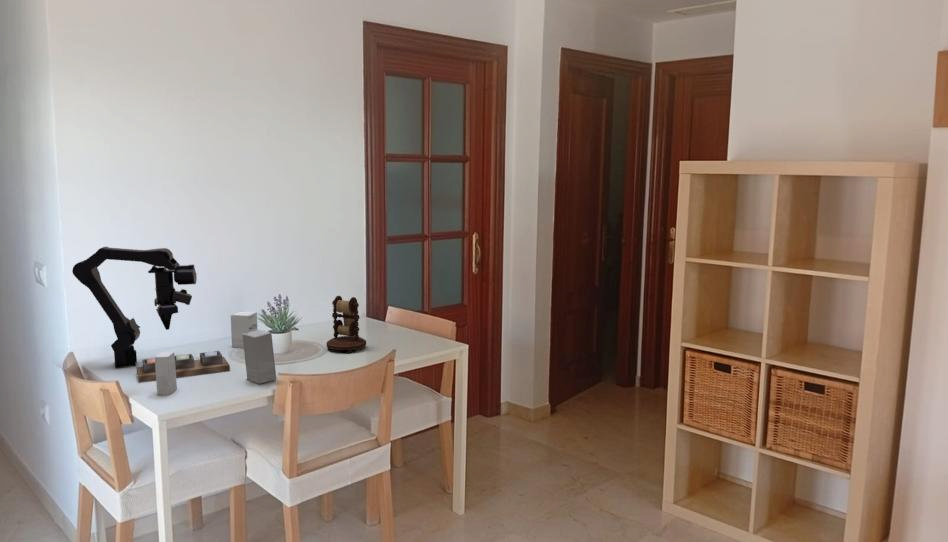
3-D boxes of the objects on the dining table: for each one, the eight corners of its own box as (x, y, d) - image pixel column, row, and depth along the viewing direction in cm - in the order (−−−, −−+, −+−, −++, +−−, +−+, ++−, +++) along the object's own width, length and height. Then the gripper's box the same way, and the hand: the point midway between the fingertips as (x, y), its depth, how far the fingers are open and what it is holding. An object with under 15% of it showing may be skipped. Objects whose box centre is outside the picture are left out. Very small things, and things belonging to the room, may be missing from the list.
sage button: (177, 367, 246) (176, 358, 246) (176, 364, 250) (175, 355, 249) (190, 365, 248) (189, 357, 247) (188, 362, 251) (188, 354, 251)
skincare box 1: (163, 388, 231) (160, 351, 229) (177, 388, 232) (174, 351, 230) (156, 395, 225) (153, 356, 223) (171, 394, 226) (168, 356, 224)
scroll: (373, 346, 283) (372, 294, 279) (351, 355, 269) (350, 301, 266) (341, 342, 289) (340, 291, 286) (318, 351, 276) (316, 298, 272)
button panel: (139, 382, 237) (138, 367, 237) (136, 372, 248) (135, 358, 247) (229, 370, 250) (229, 356, 249) (224, 362, 261) (223, 348, 260)
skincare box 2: (276, 380, 240) (274, 332, 237) (256, 385, 235) (254, 336, 232) (263, 375, 246) (261, 328, 243) (243, 379, 241) (241, 332, 238)
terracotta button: (147, 371, 242) (147, 362, 241) (147, 367, 245) (146, 359, 245) (161, 369, 244) (160, 360, 243) (160, 366, 247) (159, 357, 247)
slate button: (205, 363, 250) (205, 355, 250) (204, 360, 254) (203, 352, 253) (218, 362, 252) (217, 353, 252) (216, 359, 255) (216, 350, 255)
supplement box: (249, 348, 279) (247, 315, 277) (231, 347, 280) (229, 314, 278) (258, 343, 286) (257, 311, 284) (241, 342, 288) (239, 310, 286)
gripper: (192, 287, 251) (195, 332, 253) (186, 279, 267) (189, 321, 270) (156, 290, 246) (160, 336, 248) (152, 281, 262) (155, 324, 265)
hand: (167, 329), depth 258 cm, fingers closed
